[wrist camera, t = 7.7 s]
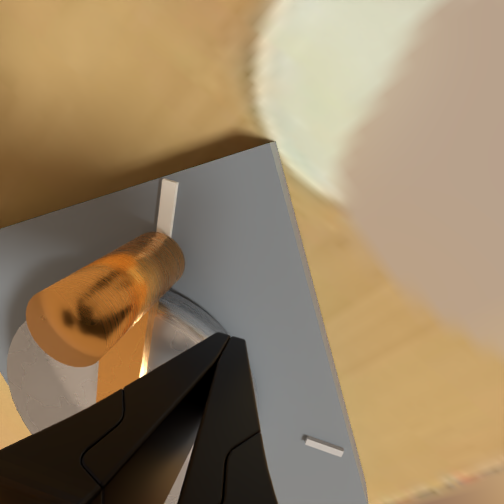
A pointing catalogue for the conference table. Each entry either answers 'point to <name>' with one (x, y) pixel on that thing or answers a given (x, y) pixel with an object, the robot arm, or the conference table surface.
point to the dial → (104, 333)
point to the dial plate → (219, 299)
